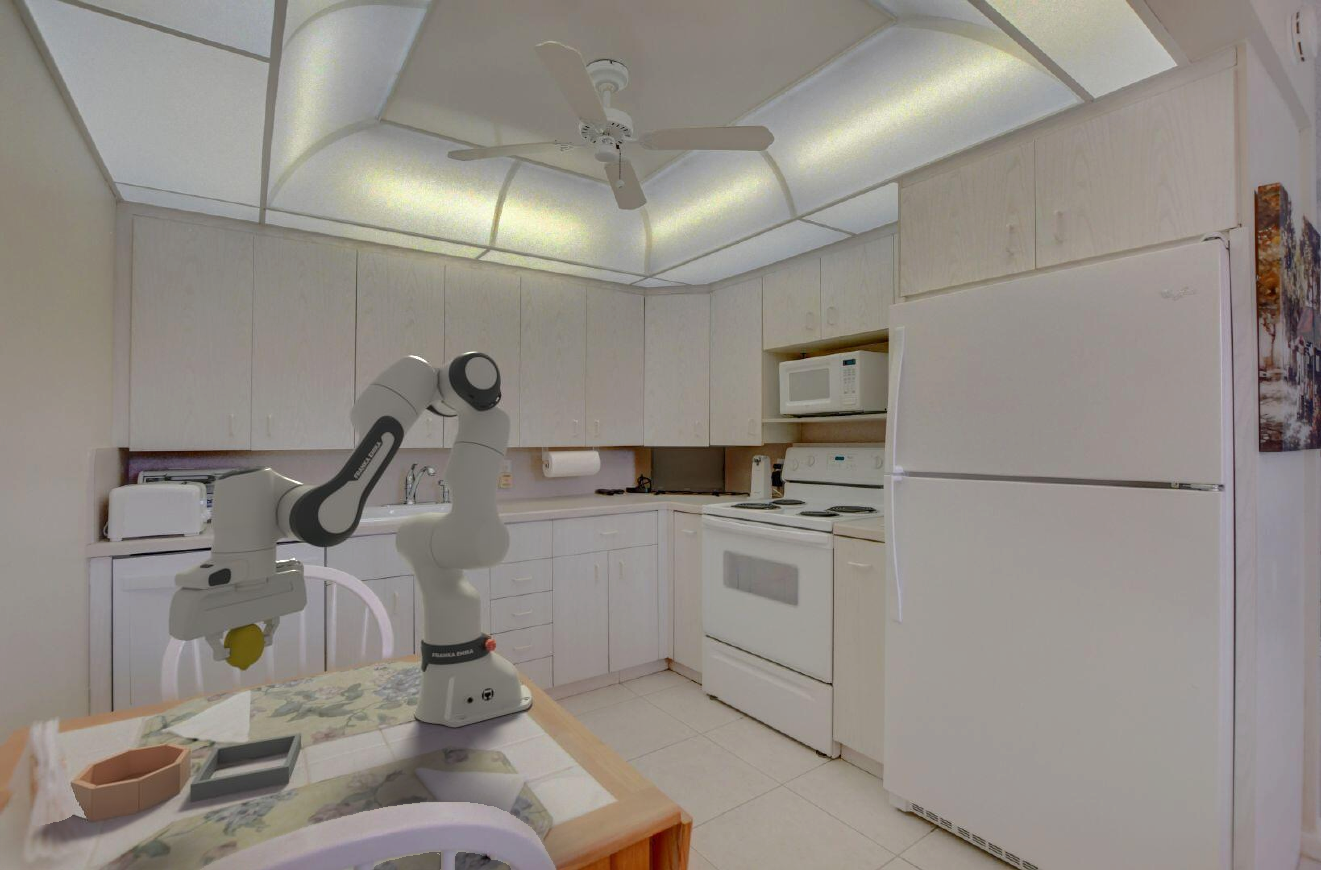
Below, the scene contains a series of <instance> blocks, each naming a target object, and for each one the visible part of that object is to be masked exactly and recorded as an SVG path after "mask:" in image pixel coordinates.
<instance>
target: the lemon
mask: <svg viewBox="0 0 1321 870" xmlns="http://www.w3.org/2000/svg"><path fill="white" fill-rule="evenodd" d="M222 645H223V646H224V647H230V653H229V654H230V658H228V659H225V660H224V661H226V663H228V664H229V666H231V667H234V668H238V669H239V670H240V671H246V670H248V669H249V668H250V666H252V665H254V664H255V663H256V662H258V661H259V660H260V658H261V657H262V654H263V653H264V650H265V649H264V648H265V647H264V635H263V631H262V628H261V627H260V626H259V625H258V624H257V623H254V624H250V625H246V626H243V627H239V628H235V629H231V630H228V631H227V633H226V635H225V638H224V642H223V644H222Z"/></svg>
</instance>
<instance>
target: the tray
mask: <svg viewBox="0 0 1321 870" xmlns="http://www.w3.org/2000/svg"><path fill="white" fill-rule="evenodd" d="M301 748H302V733H301V732H299V733H298V732H297V733H294V734H288V735H287V734H286V735H281V736H276V737H270V738H269V737H268V738H263V739H258V740H252V741H246V742H240V743H234V744H227V745H221V746H217V747H213V749H212V750H211V752H210V753H209V755H208V757H207V759H206V760H205V761H204V763H203V764H202V766H201V767H200V769H199V770H198V772H197V774H196V776H195V777H194V779H193V780H192V782H191V783H190V784H189V785H190V789H189V791H190V795H189V796H190V803H191V802H192V803H193V802H196V801H197V802H199V801H202V800H206V799H207V800H208V799H211V798H217V797H223V796H227V795H233V794H237V793H242V792H249V791H252V790H258V789H263V788H269V787H272V786H273V787H274V786H279V785H284V784H288V783H290V781H291V778H292V775H293V771H294V769H295V767H296V763H297V761H298V757H299V755H300V751H301ZM282 753H287V755H286V757H285V758H286V759H285V761H284V764H283V765H277V766H272V767H267V768H262V769H256V770H250V771H245V772H240V773H235V774H229V775H223V776H219V777H213V774H214V772H216V769H217V768H218V766H219V765H220V764H221V765H222V764H226V763H232V762H238V761H242V760H244V761H245V760H249V759H254V758H261V757H266V756H272V755H276V754H282ZM212 777H213V778H212Z"/></svg>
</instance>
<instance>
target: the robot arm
mask: <svg viewBox="0 0 1321 870" xmlns="http://www.w3.org/2000/svg"><path fill="white" fill-rule="evenodd" d="M501 378H502V377H501V372H500V369H499V367H498V364H497V363H496V362H495V360H494V359H493V358H492V357H490V356H489V355H488V354H486V353H483V352H480V351H479V352H478V351H470V352H465V353H462V354H459V355H457V356H456V357H455V358H453V359H451V360H449V361H447V362H445V363H444V364H443V365H441V366H440V367H435V366H433V365H431V364H430V363H429V362H427V360H425V359H423V358H421V357H419V356H414V355H404V356H401V357H400V358H398V359H396V360H395V361H394V362H392V364H390V365H388V366H387V367H386V368H384V370H382V372H380V373H379V374H378V375H377V376H376V377H375V378H374V379H373V380H372V381H371V382H370V384H369V385H368V386H366V388H365V389H364V390H363V391H362V392H361V394H360V395H358V398H357V399H356V401H355V403H354V404H353V406H352V408H351V410H350V416H349V417H350V423H351V425H352V428H353V430H354V431H355V432H356V434H358V435H359V437H358V441H357V443H356V445H355V447H353V449H352V451H351V452H350V454H349V455H348V456H347V457H346V459H345V460H344V462H343V463H342V464H341V466H340V467H339V469H338V470H337V472H336V473H335V474H334V475H333V476H332V477H331V478H330V479H329V480H327V481H325V482H323V483H321V484H319V485H312V484H306V483H303V482H300V481H296V480H293V479H291V478H288V477H286V476H284V475H282V474H279V473H278V472H276V471H275V470H273V469H272V468H271V466H270V467H269V466H265V465H264V466H261V465H259V466H252V467H251V466H250V467H244V468H237V469H233V470H230V471H226V472H224V473H223V474H221V475H220V476H219V477H217V479H216V481H215V485H214V488H213V494H212V501H211V502H212V503H211V516H210V517H211V518H210V520H211V521H210V523H211V527H212V530H213V535H214V536H213V543H212V545H211V549H210V557H209V558H206V559H205V560H203V561H201V562H199V563H197V564H194V565H193V566H191V567H188V568H186V569H183V570H181V571H180V572H178V573H177V574H175V576H174V584H175V586H176V587H179V589H177V590H176V591H175V593H174V594H173V595H172V598H171V602H170V607H169V614H168V634H169V635H170V636H171V637H172V638H173V639H174V640H177V641H181V642H183V641H184V642H189V641H193V640H196V639H201V638H204V640H205V642H206V643H207V644H208V645H209V647H210V648H211V650H213V651H212V652H213V653H212V656H213V657H212V658H213V660H214V662H221V661H226V660H225V659H228V658H230V654H229V653H230V647H224V646H223V645H224V644H223V643H222V642H221V640H223V639H224V632H229V631H230V630H231V629H235V628H239V627H243V626H246V625H250V624H257V623H261V622H263V625H265V627H264V629H263V631H262V632H263V635H264V648H268V647H270V646H271V647H272V645H273V643H274V640H273V637H274V635H275V633H276V631H277V629H278V627H279V625H280V624H281V623H280V620H281V618H280V617H284V616H287V615H292V614H295V613H299V612H302V611H304V609H305V608H306V606H307V604H308V597H307V595H308V593H307V587H306V586H307V585H306V581H305V577H304V576H305V570H304V569H305V565H304V564H303V563H302V562H301V561H300V560H298V559H296V558H288V559H285V560H277V543H278V541H279V540H281V539H290V540H294V541H297V542H303V543H305V544H308V545H310V546H314V547H317V548H318V547H319V548H331V547H335V546H338V545H340V544H342V543H343V542H346V541H347V540H348V539H349V538H350V537H351V536H353V535H354V533H355V532H356V530H357V528H358V526H359V525H360V523H361V519H362V516H363V512H364V509H365V506H366V502H367V500H368V498H369V496H370V494H371V493H372V491H373V489H374V488H376V487H375V486H376V485H377V484H378V482H379V480H380V479H381V478H382V476H383V474H384V473H385V472H386V470H387V468H388V467H389V466H390V463H391V462H392V461H393V460H394V457H395V455H397V452H398V451H399V449H400V447H401V445H402V443H403V441H404V438H405V437H406V435H407V434H408V433H409V431H410V430H411V428H412V427H413V426H414V425H415V424H416V422H417V421H418V419H419V418H420V417H421V415H422V414H423V413H424V411H426V410H427V411H429V412H430V413H432V414H433V415H435V416H438V417H441V418H454V417H455V418H456V417H457V424H458V426H457V434H456V436H455V438H454V441H453V444H452V447H451V450H450V454H449V457H448V459H447V462H446V465H445V469H444V471H443V475H442V481H443V484H444V487H445V488H446V489H447V490H448V491H449V492H450V493H451V496H452V497H451V498H452V503H451V510H450V512H432V511H431V512H429V511H428V512H425V513H421V514H417V515H412V516H410V517H407V518H406V519H405V520H403V521H402V522H401V524H400V525H399V527H398V528H397V532H396V533H395V534H396V535H395V547H396V551H397V552H398V555H399V556H400V557H401V558H402V559H403V560H404V561H405V562H406V564H407V565H408V567H409V568H410V570H411V572H412V574H413V576H414V579H415V581H416V585H417V588H418V591H419V594H420V599H421V607H422V608H421V609H422V630H423V631H422V634H423V638H422V640H421V642H420V651H419V652H420V653H419V656H420V657H419V658H420V659H419V661H420V670H421V681H420V682H421V683H420V689H419V695H418V700H417V703H416V707H415V710H414V717H415V718H416V719H417V720H419V721H421V722H424V723H427V724H428V723H429V724H437V725H438V724H439V725H443V726H447V727H449V728H459V727H462V726H467V725H471V724H475V723H478V722H482V721H486V720H489V719H493V718H498V717H501V716H505V715H508V714H512V713H516V712H520V711H524V710H527V709H529V708H530V706H531V705H532V704H533V703H532V702H533V697H532V693H531V692H532V691H531V690H530V689H529V688H528V687H527V685H525V684H524V683H522V682H521V680H520V676H519V672H518V670H517V669H516V667H515V665H513V663H512V662H510V661H509V660H507V659H505V658H504V657H502V656H501V655H499V654H498V653H495V650H496V648H497V643H496V640H495V639H494V638H492V637H491V636H490V635H489V634H488V633H487V632H485V633H484V632H482V599H481V595H480V593H479V591H478V590H476V588H475V587H474V586H472V585H471V583H470V582H469V580H468V579H467V577H466V574H465V572H464V570H466V571H477V570H485V569H490V568H494V567H495V568H496V566H499V565H500V564H501V563H502V562H503V561H504V559H505V558H506V556H507V555H508V552H509V549H510V544H511V543H510V542H511V541H510V540H511V539H510V532H509V530H508V528H507V526H506V524H505V523H504V521H502V519H501V517H500V515H499V512H498V507H497V506H498V505H497V490H498V485H499V481H500V479H501V478H500V477H501V473H502V470H503V465H504V463H505V459H506V454H507V451H508V446H509V440H510V432H511V419H510V415H509V414H508V412H506V410H505V409H503V408H502V407H500V406H499V405H498V404H499V403H500V401H501V400H502V389H501V384H502V382H501V381H502V379H501Z"/></svg>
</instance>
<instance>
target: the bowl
mask: <svg viewBox="0 0 1321 870" xmlns="http://www.w3.org/2000/svg"><path fill="white" fill-rule="evenodd" d="M191 752H192V751H191V747H188V746H184V745H181V744H179V743H178V744H177V743H173V742H164V743H159V744H158V743H157V744H153V745H152V744H151V745H146V746H141V747H136V748H135V747H134V748H129V749H126V750H124V751H120V752H119V753H115V754H113V755H110V756H108V757H106V758H103V759H100V760H98V761H94V762H92V763H90V764H88V765H86V766H85V767H84V768H83V770H81V771H80V772H79V773H78V774H77V775H76V776H75V777H74V778H73V779H72V780H71V781H70V788H71V787H72V789H73V792H74V794H75V798H76V800H77V802H79V806H81V808H82V810H83V811H84V815H85V816H86V818H87V819H88V820H87V821H89V822H96V821H102V820H106V819H112V818H117V817H122V816H127V815H131V814H137V813H138V814H139V813H140V812H143V811H144V810H147V809H149V808H151V807H153V806H155V805H157V804H159V803H162V802H164V801H166V800H168V799H170V798H172V797H174V796H177V795H179V794H180V793H181V792H182V790H183V788H184V787H185V786H186V784H187V783H188V781H189V779H190V778H191V770H192V767H191V760H192V759H191V757H192V756H191Z"/></svg>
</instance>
